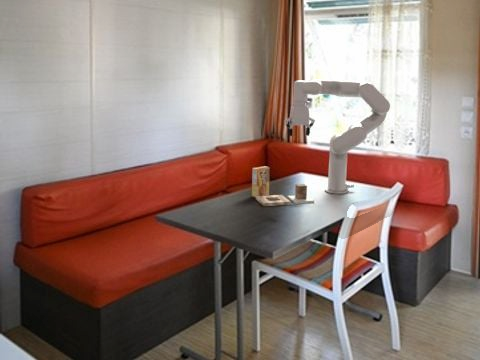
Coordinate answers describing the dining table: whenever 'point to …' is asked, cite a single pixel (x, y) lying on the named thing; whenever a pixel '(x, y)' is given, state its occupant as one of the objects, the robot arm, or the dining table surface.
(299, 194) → the walnut block
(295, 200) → the board
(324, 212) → the dining table surface
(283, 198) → the pocket plate
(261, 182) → the candy box
